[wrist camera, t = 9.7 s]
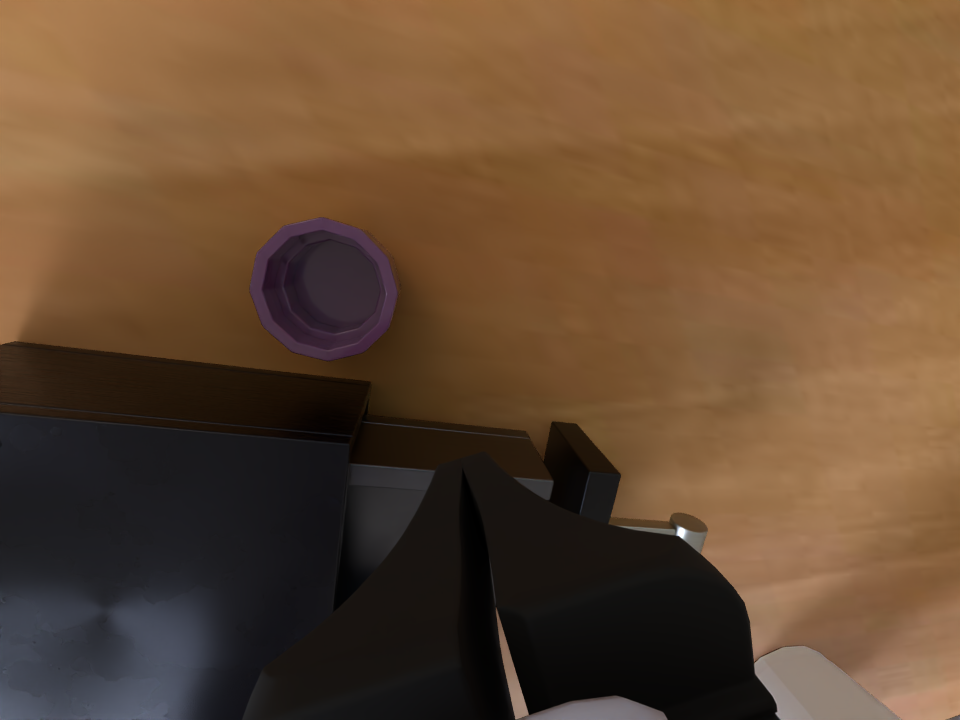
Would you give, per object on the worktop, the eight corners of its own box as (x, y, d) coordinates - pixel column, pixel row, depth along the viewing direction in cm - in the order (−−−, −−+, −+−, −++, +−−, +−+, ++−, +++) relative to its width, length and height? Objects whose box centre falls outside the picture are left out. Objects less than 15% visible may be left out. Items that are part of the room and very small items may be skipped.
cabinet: (371, 381, 19) (350, 443, 13) (345, 619, 22) (318, 760, 16) (14, 340, 17) (-208, 394, 11) (35, 610, 20) (-132, 771, 14)
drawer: (676, 433, 21) (746, 485, 16) (621, 629, 23) (669, 720, 19) (286, 392, 18) (242, 441, 13) (271, 620, 20) (230, 724, 16)
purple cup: (423, 286, 18) (424, 295, 15) (343, 362, 19) (329, 386, 16) (337, 197, 17) (320, 187, 14) (255, 281, 17) (219, 289, 14)
